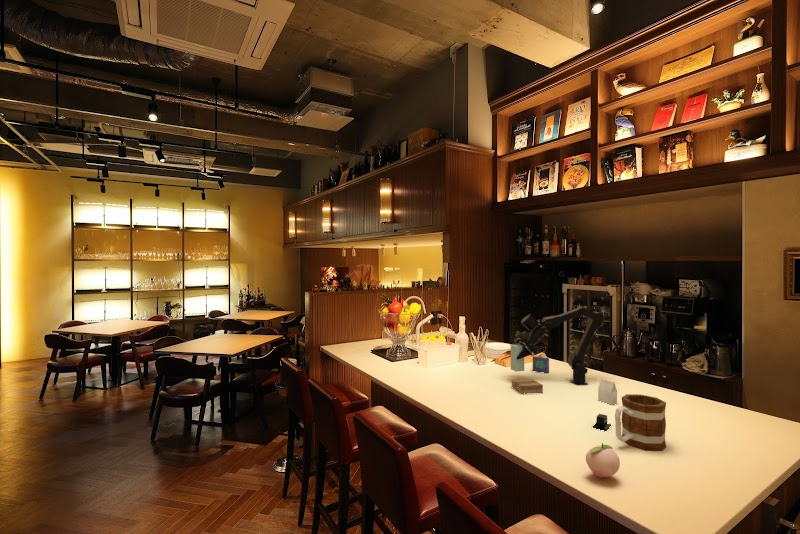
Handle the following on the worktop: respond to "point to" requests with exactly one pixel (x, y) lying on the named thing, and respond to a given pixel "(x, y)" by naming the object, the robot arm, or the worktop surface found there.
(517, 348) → the tall block
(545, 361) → the flask
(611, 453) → the decorative fruit
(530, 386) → the base brick
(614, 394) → the paper bag
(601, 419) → the black flanged block
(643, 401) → the mug
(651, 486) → the worktop surface
